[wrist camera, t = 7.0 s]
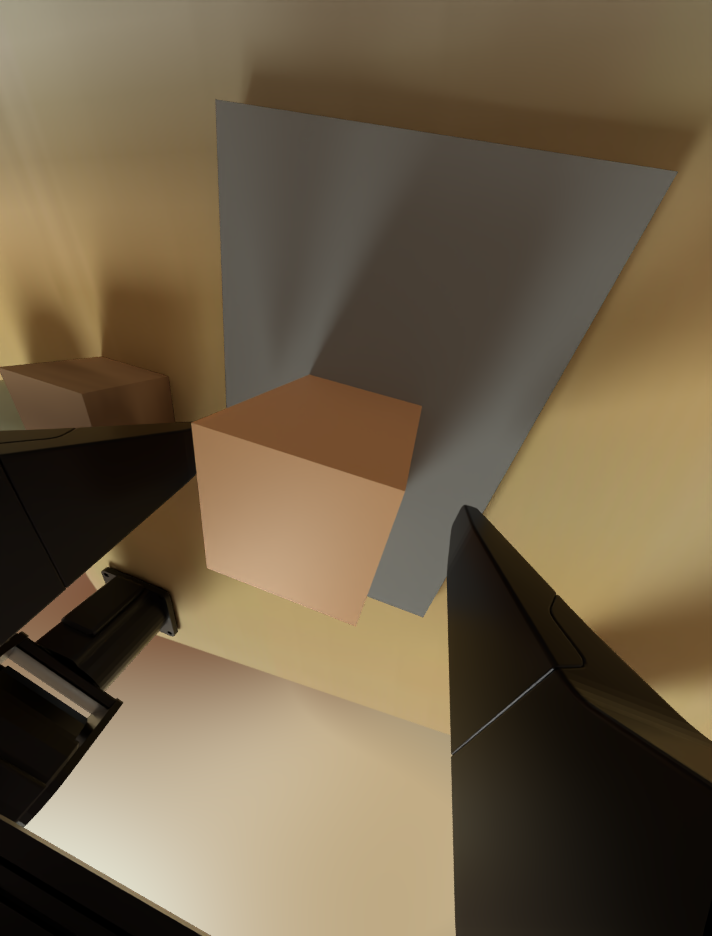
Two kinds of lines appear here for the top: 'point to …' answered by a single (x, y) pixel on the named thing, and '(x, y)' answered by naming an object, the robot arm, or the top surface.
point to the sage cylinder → (8, 411)
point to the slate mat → (418, 290)
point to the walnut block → (87, 394)
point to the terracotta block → (304, 489)
